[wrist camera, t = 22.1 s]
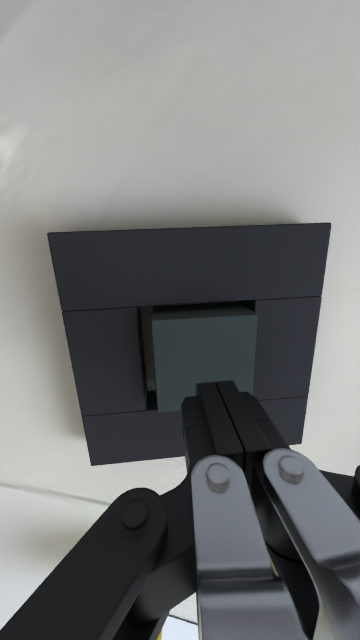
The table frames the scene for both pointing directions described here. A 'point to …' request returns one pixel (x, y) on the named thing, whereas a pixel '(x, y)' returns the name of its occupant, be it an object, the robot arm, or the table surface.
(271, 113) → the table surface
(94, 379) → the base pad
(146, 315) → the table surface
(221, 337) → the dark grey square block
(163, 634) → the white box
